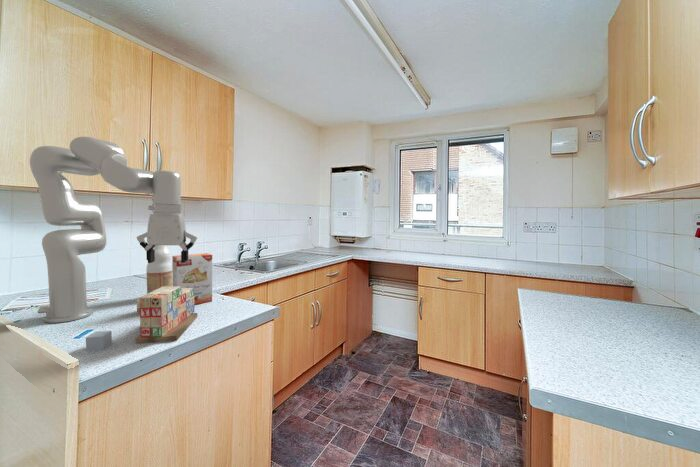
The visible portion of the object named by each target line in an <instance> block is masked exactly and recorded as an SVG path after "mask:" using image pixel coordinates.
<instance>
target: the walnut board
mask: <svg viewBox="0 0 700 467" xmlns="http://www.w3.org/2000/svg"><path fill="white" fill-rule="evenodd" d="M197 318H198V312H193V313H192V314H191V315H190V316H188V317H187V318H186V319H184V320H183V321H182V322H180V323H179V324H178V325H177V326H176V327H174V328H173V329H172V330H171V331H169V332H167V333H166V334H165V335H164V336H162V337H141V336H140V334H139V335H138V336H136V337H135V338H134V340H135V344H147V343H160V342H177V341H178V340H179V339H180V338H181V336H182V335H183V334H184V333H185V332H186V331H187V330H188V328H189V327H190V326H191V325H192V324H193V323H194V321H195V320H196V319H197Z"/></svg>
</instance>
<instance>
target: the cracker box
mask: <svg viewBox="0 0 700 467" xmlns="http://www.w3.org/2000/svg"><path fill="white" fill-rule="evenodd" d="M171 258H172V260H171V261H172V262H171V265H172V287H173V286H181V288H194V306H195V305H199V304H205V303H210V302H212V301H213V254H211V253H207V252H206V253H193V254H190V253H189V254H188V260H187V262H185V263H181V254H180V255H178V254H177V255H171Z"/></svg>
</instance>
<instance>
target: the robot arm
mask: <svg viewBox="0 0 700 467" xmlns="http://www.w3.org/2000/svg"><path fill="white" fill-rule="evenodd" d="M29 167H30V170H31V173H32V176H33V177H34V179H35V181H36V184H37V186H38V191H39V197H40V203H41V209H42V213H43V217H44V220H45V221H46V223H47V224H48V225H51V226H58V227H61V226H62V227H68V226H74V227H75V226H80V228H71V229H70V228H68V229H57V230H52V231H49V232H47V233H46V234H44V236H43V237H42V241H41V245H42V246H41V247H42V250H43V253H44V255H45V259H46V260H45V261H46V266H47V280H48V282H47V283H48V297H49V298H48V299H49V300H48V302H49V305H43V306H42V305H41V306H40V307H39V309H37V313H38V314H46V315H45V316H44V317H43V321H44V322H45V323H49V324H50V323H51V324H52V323H53V324H55V323H67V322H70V321H71V322H72V321H77V320H79V319H83V318H86V317H89V316H90V315H92V314H93V313H94V309H93V308H91V307H88V302H87V301H88V299H87V298H88V297H87V295H88V294H87V276H86V275H87V274H86V273H87V272H86V266H85V264H84V262H83V261H82V260H81V259H80V258H79V257H78V256H81V255H90V254H96V253H100V252H101V251H104V249H105V248H106V246H107V234H106V228H105V221H104V216H103V212H102V211H103V210H102V209H101V207H100V206H99V205H98V204H97V203H96V202H94V201H91V200H84V199H77V198H76V196H75V191H74V187H73V185H72V183H71V182H70V181H69V180H68V179H67V178H66V177H65V176H64V175H63V174H62V173H64V174H70V175H71V174H73V175H78V176H79V175H80V176H88V177H91V176H92V177H93V176H97V175H100V176H101V178H102V179H103V181H104V182H106V183H107V184H109V185H111V186H113V187H115V189H118V190H120V191H122V192H126V193H131V194H134V193H135V194H145V195H152V205H148V208H147V209H148V210H149V211H152V212H153V213H150V214H149V217H148V223H147V231H146V232H145V233H142V234H139V235H138V236H136V239H137V240H136V241H138V243H139V245H140V247H142V248H143V249H144V251H146V252H145V253H146V261H147V264H148V263H152V262H154V261H155V250H153V248H154V247H155V245H167V246H179V247H180V249H182V250H181V253H180V255H181V263H185V262H187V260H188V255H189V250H190V249H191V248H192V247H193V246H194V245H195V244H196V242H197V240H198V237H197V236H195V235H193V234H191V233H189V232H187V229H186V223H185V218H184V214H182V213H181V212H182V204H181V203H182V202H181V201H182V194H181V190H182V189H181V180H182V179H181V175H180V173H178V172H176V171H170V170H156V171H152V170H151V171H150V170H145V169H139V168H134V167H130V166H128V159H127V157H126V155H125V153H124V151H123V149H122V148H121V146H119V145H117V144H116V143H114V142H112V141H111V142H110V141H108V140H107V141H106V140H104V139H99V138H95V137H90V136H78V137H75V138H73V139H72V140H71V141H70V143H69V148H65V147H61V146H55V145H53V146H52V145H42V146H38V147H36V148H35V149H34V150H33V151H32V152H31V154H30V157H29ZM145 239H146V240H145ZM187 239H189V240H190V241H189V243H186V242H187Z"/></svg>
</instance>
